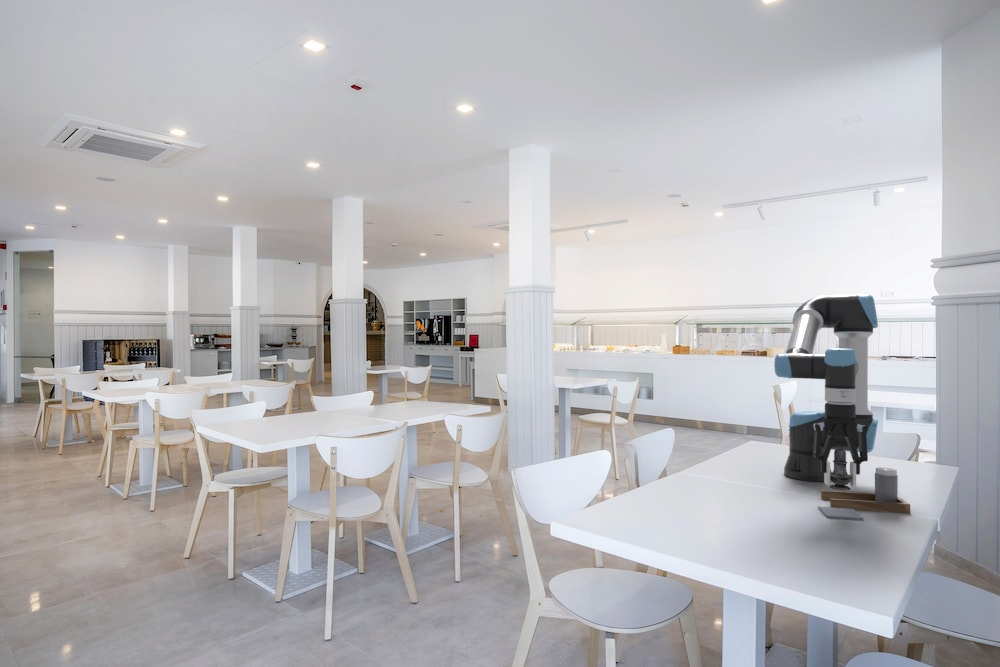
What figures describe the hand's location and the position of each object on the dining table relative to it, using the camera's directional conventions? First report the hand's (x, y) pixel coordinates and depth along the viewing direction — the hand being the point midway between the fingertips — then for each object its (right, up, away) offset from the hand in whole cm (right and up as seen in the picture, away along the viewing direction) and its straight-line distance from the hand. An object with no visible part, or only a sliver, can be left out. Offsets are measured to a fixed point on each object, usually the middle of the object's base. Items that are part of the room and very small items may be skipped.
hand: (839, 484), depth 163 cm
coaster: (0, -8, 0) cm, 8 cm away
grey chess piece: (0, -1, 0) cm, 1 cm away
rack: (+12, -8, +9) cm, 17 cm away
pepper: (+18, -8, +7) cm, 21 cm away
